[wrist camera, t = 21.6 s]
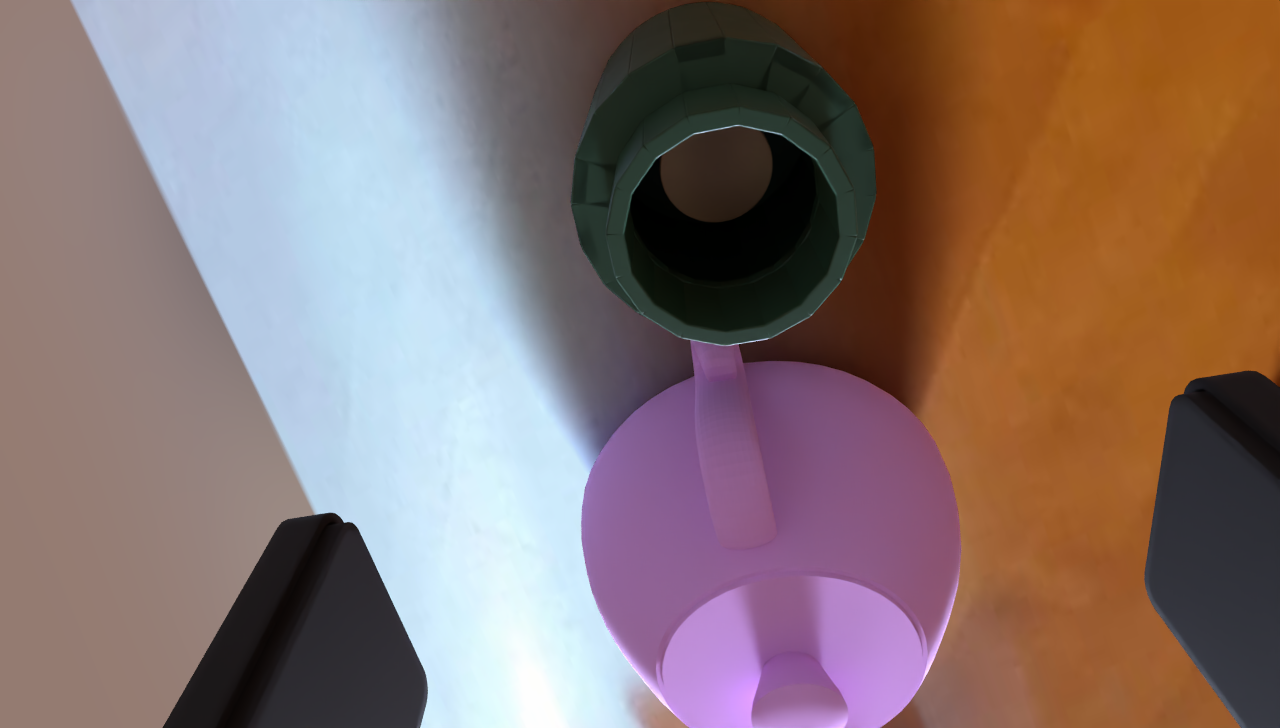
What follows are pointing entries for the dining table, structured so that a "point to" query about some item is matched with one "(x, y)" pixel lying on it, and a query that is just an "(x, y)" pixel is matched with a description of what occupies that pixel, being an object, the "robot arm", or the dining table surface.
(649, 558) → the teapot
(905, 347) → the dining table surface
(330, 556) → the robot arm
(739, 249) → the green bottle
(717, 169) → the stopper
